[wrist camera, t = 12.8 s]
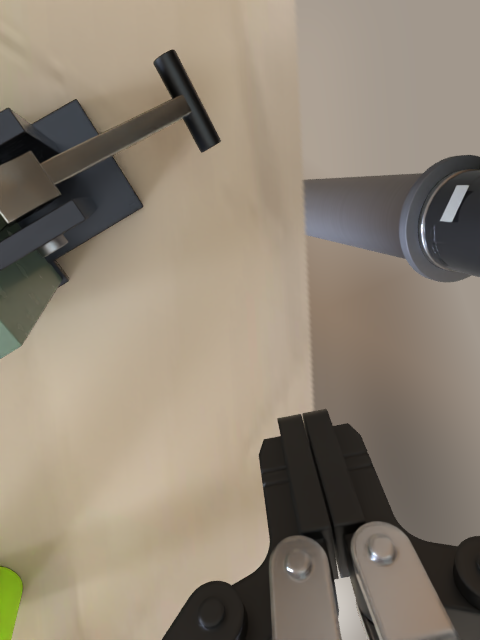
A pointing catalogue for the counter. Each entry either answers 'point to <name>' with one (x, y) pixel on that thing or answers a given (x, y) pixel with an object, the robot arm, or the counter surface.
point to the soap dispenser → (9, 601)
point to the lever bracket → (63, 186)
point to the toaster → (25, 294)
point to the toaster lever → (102, 146)
